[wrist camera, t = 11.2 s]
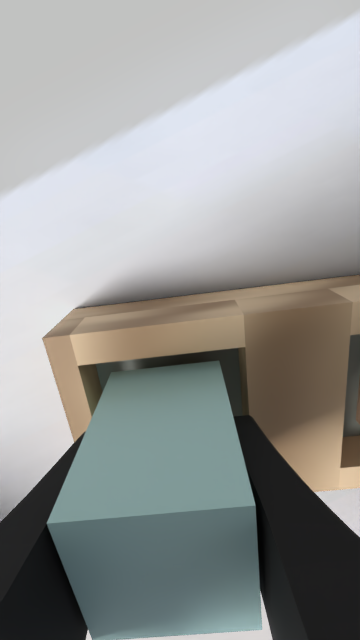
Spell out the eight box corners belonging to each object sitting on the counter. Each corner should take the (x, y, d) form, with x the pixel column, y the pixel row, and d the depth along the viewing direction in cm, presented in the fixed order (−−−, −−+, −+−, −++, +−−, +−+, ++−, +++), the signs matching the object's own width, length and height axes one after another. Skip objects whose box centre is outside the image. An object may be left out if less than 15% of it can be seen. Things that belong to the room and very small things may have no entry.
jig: (584, 247, 10) (713, 259, 8) (529, 414, 13) (615, 465, 10) (73, 309, 11) (42, 338, 9) (111, 455, 14) (95, 511, 11)
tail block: (218, 360, 10) (255, 505, 5) (226, 447, 11) (262, 630, 6) (111, 372, 10) (46, 524, 5) (130, 456, 11) (93, 640, 6)
